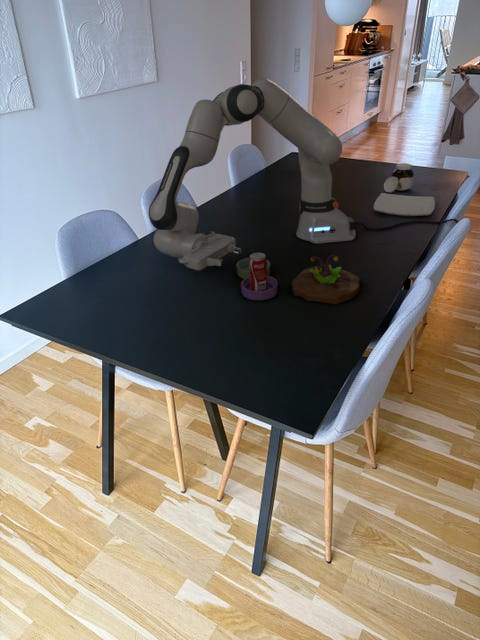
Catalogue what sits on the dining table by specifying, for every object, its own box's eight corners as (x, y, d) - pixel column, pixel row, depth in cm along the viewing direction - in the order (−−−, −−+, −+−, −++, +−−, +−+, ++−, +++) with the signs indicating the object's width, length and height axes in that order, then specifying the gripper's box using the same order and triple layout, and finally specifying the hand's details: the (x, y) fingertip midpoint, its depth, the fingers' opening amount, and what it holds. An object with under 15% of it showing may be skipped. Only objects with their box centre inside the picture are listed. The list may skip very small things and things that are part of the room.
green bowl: (270, 265, 162) (270, 256, 161) (269, 280, 153) (269, 271, 151) (238, 265, 163) (237, 257, 162) (235, 280, 154) (235, 271, 152)
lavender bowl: (277, 283, 151) (277, 274, 149) (277, 301, 141) (277, 291, 140) (242, 284, 152) (242, 275, 150) (240, 301, 142) (239, 291, 141)
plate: (369, 215, 199) (370, 209, 197) (378, 197, 218) (379, 192, 216) (432, 221, 190) (433, 214, 189) (435, 202, 209) (436, 196, 208)
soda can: (249, 288, 148) (248, 252, 142) (266, 286, 149) (265, 251, 142) (251, 296, 144) (249, 259, 138) (268, 294, 144) (267, 258, 138)
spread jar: (413, 189, 227) (417, 164, 220) (406, 195, 219) (410, 170, 212) (388, 186, 232) (391, 161, 226) (381, 192, 224) (384, 167, 218)
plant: (344, 310, 135) (347, 274, 129) (282, 295, 144) (282, 261, 139) (368, 281, 149) (371, 248, 143) (310, 269, 159) (312, 237, 153)
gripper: (173, 251, 145) (209, 260, 138) (213, 229, 159) (248, 236, 152) (176, 269, 148) (211, 279, 141) (215, 246, 162) (249, 254, 156)
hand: (231, 257), depth 147 cm, fingers open, 8 cm apart
